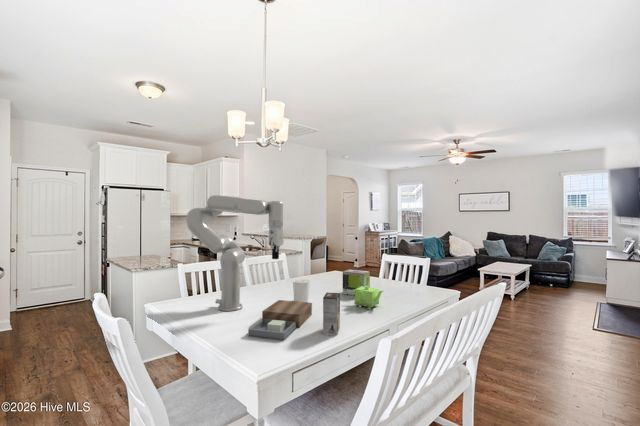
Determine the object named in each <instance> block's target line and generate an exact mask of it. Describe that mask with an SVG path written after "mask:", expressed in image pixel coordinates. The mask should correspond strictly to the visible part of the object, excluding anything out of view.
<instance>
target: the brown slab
mask: <svg viewBox="0 0 640 426" xmlns="http://www.w3.org/2000/svg"><path fill="white" fill-rule="evenodd" d="M312 307H313V303H312V302H296V301H294V300H292V301H291V300H282V299H278V300H276V301H275V302H273V303H272V304H270V306H268V307H266V308H265V309H263V310H262V311H261V314H262V315H261V316H262V317H261V320H262V319H271V320H281V321H290V322H296V329H297V328H300V327H302V326H303V325H304V324H305V322H306V321H307V320H308V319H310V317H311V316H312V310H313V308H312Z"/></svg>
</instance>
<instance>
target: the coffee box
mask: <svg viewBox="0 0 640 426" xmlns="http://www.w3.org/2000/svg"><path fill="white" fill-rule="evenodd" d="M322 298H323V299H322V301H323V302H322V335H325V336H327V335H328V336H336V335H337V336H338V334H339V331H340V328H341V326H340V325H341V322H340V321H341V293H340V292H326V293H325V294H324V295H323V297H322Z"/></svg>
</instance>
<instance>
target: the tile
mask: <svg viewBox="0 0 640 426" xmlns="http://www.w3.org/2000/svg"><path fill="white" fill-rule="evenodd" d="M285 324H286V321H281V320H272V321H271V322H269V323H268V324H267V331H276V332H281V331H282V330H284V329H285Z"/></svg>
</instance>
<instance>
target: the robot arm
mask: <svg viewBox="0 0 640 426" xmlns="http://www.w3.org/2000/svg"><path fill="white" fill-rule="evenodd" d="M206 200H207V201H206V206H204V207H195V208H192V209H190V210H189V211H188V213H187V214H186V217H185V220H186V221H185V222H186V226H187V228H188V230H189V231H190V233H191V234H192V235H194V236H195V237H196V238H197V239H198V240H199V241H200V242H201V243H202V244H203V245H204V246H205V247H206V248H207V249H209V251H210V252H212V253H213V254H219V253H221V256H220V260H219V261H220V271H221V272H220V273H221V295H220V296H221V297H220V298H216V299H215V302H214V303H215V304H219V305H218V306H217V307H218V309H217V310H219V311H221V312H235V311H238V310H241V309H242V308H243V307H244V306H243V304H242V303H240V301H241V300H240V299H241V297H240V293H241V290H240V288H241V287H240V286H241V272H240V266H239V265H240V264H242V263H243V262H244V261H245V258H246V253H245V251H244V250H243V248H242V247H240V245H239V244H237V242H235V241H234V240H233V239H232V238H231V237H229V236H228V235H226V234H218V233H216V232H215V231H214V230H213V229H212V228H211V227H210V226H209V225H206V224H208V223H210V222H212V221H213V220H214V219H216V218H217V217H219V216H220V215H221V214H222V213H223V212H225V213H232V214H233V213H234V214H248V215H255V216H256V215H257V216H259V215H261V216H265V215H268V228H269V229H268V246H270V247H269V248H270V249H271V259H272V260H279V259H280V255H279V254H280V247H281V246H283V245H284V202H283V201H281V200H271V201H268V200H267V201H266V200H262V199H248V198H241V197H239V196H228V195H217V194H214V195H211V196H209V197H208V198H207V199H206Z"/></svg>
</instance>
